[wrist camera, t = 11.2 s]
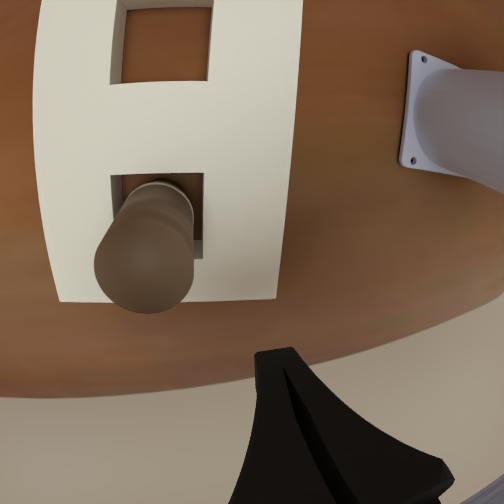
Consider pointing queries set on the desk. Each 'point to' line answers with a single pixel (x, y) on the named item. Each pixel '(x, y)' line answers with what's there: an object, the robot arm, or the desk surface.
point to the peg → (148, 249)
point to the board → (167, 138)
